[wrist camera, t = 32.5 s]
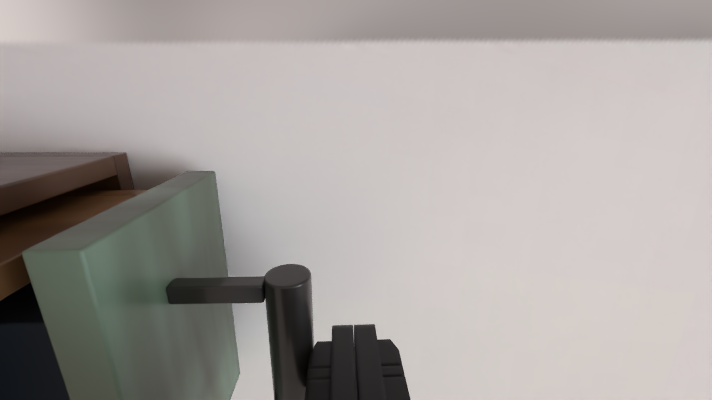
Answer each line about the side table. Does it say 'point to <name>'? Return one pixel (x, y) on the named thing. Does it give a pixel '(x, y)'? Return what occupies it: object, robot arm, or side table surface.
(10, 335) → the block
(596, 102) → the side table surface
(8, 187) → the cabinet
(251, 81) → the side table surface
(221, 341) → the drawer
